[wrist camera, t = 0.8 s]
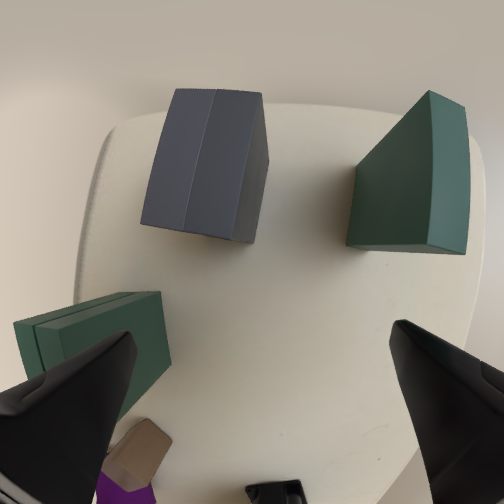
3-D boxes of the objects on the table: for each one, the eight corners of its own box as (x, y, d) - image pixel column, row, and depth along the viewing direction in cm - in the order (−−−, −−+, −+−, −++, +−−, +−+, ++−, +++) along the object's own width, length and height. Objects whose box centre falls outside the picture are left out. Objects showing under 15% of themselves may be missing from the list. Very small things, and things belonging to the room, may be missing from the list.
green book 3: (369, 250, 21) (465, 255, 8) (345, 245, 22) (426, 244, 9) (380, 171, 21) (465, 106, 8) (356, 165, 21) (428, 89, 8)
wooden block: (129, 428, 24) (96, 467, 16) (147, 416, 24) (113, 459, 16) (154, 451, 24) (127, 494, 16) (175, 440, 23) (148, 487, 15)
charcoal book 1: (228, 239, 22) (183, 231, 12) (202, 234, 23) (139, 224, 12) (244, 157, 22) (217, 88, 11) (218, 154, 22) (175, 88, 11)
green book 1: (149, 362, 23) (67, 434, 10) (130, 361, 24) (45, 424, 11) (137, 291, 23) (31, 325, 10) (118, 292, 24) (12, 322, 11)
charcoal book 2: (253, 243, 22) (231, 240, 11) (227, 238, 22) (181, 231, 12) (269, 161, 22) (261, 92, 11) (243, 157, 22) (216, 88, 11)
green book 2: (171, 364, 23) (96, 445, 10) (151, 363, 23) (69, 435, 10) (160, 291, 23) (58, 329, 10) (139, 291, 23) (33, 326, 10)
